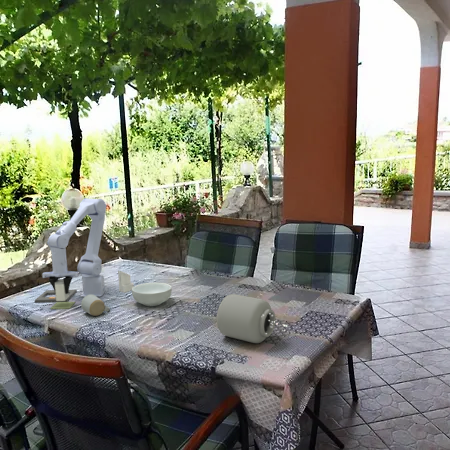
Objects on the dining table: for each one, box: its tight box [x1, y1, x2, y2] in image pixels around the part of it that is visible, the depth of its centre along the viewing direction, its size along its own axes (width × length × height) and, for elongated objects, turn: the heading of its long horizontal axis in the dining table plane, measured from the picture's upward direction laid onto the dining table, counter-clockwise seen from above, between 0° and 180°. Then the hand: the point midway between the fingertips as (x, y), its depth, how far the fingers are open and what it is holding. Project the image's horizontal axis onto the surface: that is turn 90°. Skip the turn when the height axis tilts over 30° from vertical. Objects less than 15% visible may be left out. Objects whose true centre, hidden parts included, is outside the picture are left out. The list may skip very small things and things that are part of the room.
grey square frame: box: [34, 289, 78, 304], centre depth 208 cm, size 14×14×2 cm
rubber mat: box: [49, 301, 76, 310], centre depth 197 cm, size 8×8×1 cm
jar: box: [216, 293, 288, 344], centre depth 157 cm, size 19×15×25 cm
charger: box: [55, 278, 69, 301], centre depth 196 cm, size 4×5×8 cm
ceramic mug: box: [80, 294, 111, 317], centre depth 187 cm, size 10×8×7 cm
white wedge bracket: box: [117, 270, 135, 294], centre depth 216 cm, size 4×10×9 cm, turn 146°
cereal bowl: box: [131, 282, 173, 307], centre depth 198 cm, size 17×17×7 cm
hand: (62, 293), depth 196 cm, fingers closed on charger, 4 cm apart
